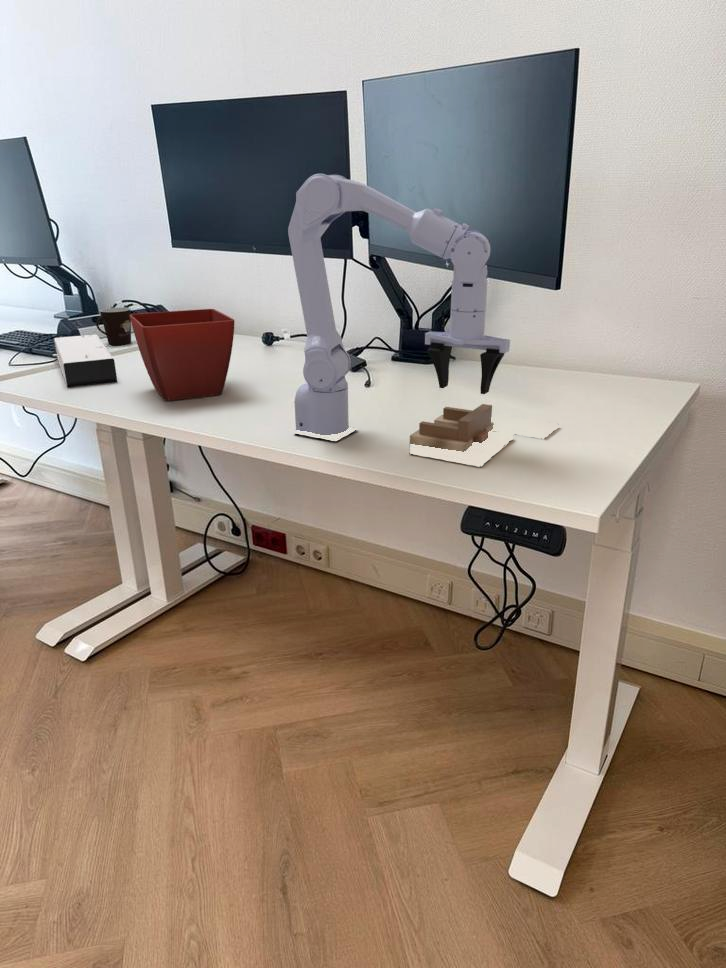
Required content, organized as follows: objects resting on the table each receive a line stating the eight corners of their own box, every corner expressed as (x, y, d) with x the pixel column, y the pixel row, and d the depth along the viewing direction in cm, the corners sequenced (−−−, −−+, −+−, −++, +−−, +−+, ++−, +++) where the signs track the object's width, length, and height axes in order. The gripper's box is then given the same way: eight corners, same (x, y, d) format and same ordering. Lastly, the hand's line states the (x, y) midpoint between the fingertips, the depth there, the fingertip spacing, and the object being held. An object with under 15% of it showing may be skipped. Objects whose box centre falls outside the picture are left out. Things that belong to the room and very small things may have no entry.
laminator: (117, 384, 168) (114, 358, 166) (62, 390, 163) (57, 364, 161) (100, 356, 196) (97, 334, 194) (53, 361, 192) (49, 338, 189)
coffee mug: (128, 339, 216) (123, 306, 212) (139, 344, 210) (135, 309, 206) (90, 345, 209) (84, 310, 205) (101, 349, 203) (95, 314, 199)
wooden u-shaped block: (406, 454, 120) (406, 437, 119) (444, 428, 133) (445, 413, 132) (480, 467, 114) (481, 450, 113) (513, 439, 127) (514, 423, 126)
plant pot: (219, 377, 171) (213, 307, 164) (241, 397, 155) (235, 319, 148) (138, 387, 164) (128, 313, 157) (153, 408, 148) (142, 327, 141)
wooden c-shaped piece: (419, 434, 121) (419, 414, 119) (445, 417, 130) (446, 398, 128) (467, 442, 117) (468, 422, 115) (491, 424, 126) (492, 405, 124)
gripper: (417, 309, 116) (415, 389, 122) (501, 316, 110) (495, 401, 115) (436, 303, 122) (433, 380, 127) (516, 310, 115) (510, 391, 120)
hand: (463, 389), depth 121 cm, fingers open, 7 cm apart
